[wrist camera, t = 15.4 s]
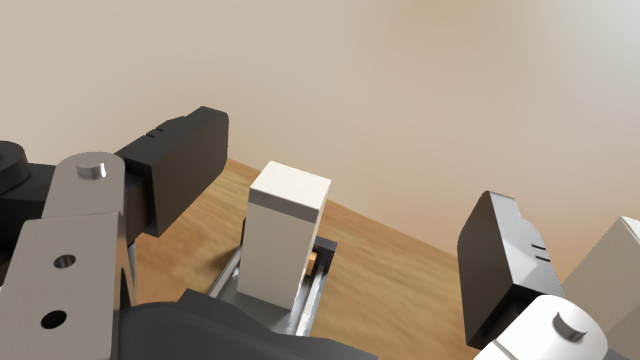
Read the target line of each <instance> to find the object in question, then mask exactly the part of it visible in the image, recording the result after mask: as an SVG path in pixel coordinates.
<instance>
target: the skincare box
mask: <svg viewBox="0 0 640 360" xmlns="http://www.w3.org/2000/svg"><path fill="white" fill-rule="evenodd" d="M561 287H562V289H563V292H564V294H565V297H566V299H567V301H569V302H571V303H573V304H575V305H576V306H578V307H579V308H581V309H582V310H583V311H585V312H586V313H587V314H588V315H589V316H590V317H591V318H592V319H593V320H594V321H595V322H596V323H597V324H598V325H599V327H600V328H601V329H602V331H603V333H604V334H605V337H606V339H607V343H608V348H610V349H612V350H613V351H615V352H617V353H619V354H620V355H622V356H624V357H626V358H627V359H629V360H640V221H637V220H634V219H630V218H627V217H623V216H620V217H619V219H618V220H617V221H616V222H615V223H614V224H613V226H612V227H611V228H610V229H609V230H608V231H607V233H605V235H604V236H603V237H602V238H601V239H600V240H599V242H598V243H597V244H596V245H595V247H593V248H592V250H591V251H590V252H589V253H588V255H586V257H585V258H584V259H583V260H582V261H581V262H580V264H579V265H578V266H577V267H576V268H575V269H574V270H573V272H572V273H571V274H570V275H569V276H568V278H567V279H566V280H565V281H564V282H563V283H562V284H561Z"/></svg>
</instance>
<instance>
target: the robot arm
mask: <svg viewBox="0 0 640 360" xmlns="http://www.w3.org/2000/svg"><path fill="white" fill-rule="evenodd" d="M228 124H229V118H228V115H227V113H225V112H222V111H219V110H215V109H212V108H208V107H205V106H202V107H200V108H198V109H197V110H195V111H194V112H192V113H191V114H189V115H188V116H186V117H184V116H182V117H178V118H175V119H171V120H167V121H166V122H164V123H163V124H161V125H159V126H158V127H156V129H153V130H151V131H150V132H148V133H146V136H145V135H143V136H141V137H140V138H138V139H137V140H135V141H134V142H132V143H130V144H129V145H127V146H125V147H124V148H122V149H120V150H119V151H117V152H116V153H114V154H111V153H106V152H86V153H81V154H77V155H73V156H70V157H68V158H66V159H64V160H63V161H61V162H60V163H59V164H58V165H57V166H54V165H44V164H34V163H28V161H27V158H26V155H25V152H24V149H23V148H22V147H21V146H20V145H18V144H16V143H13V142H9V141H0V287H1V286H2V285H3V287H2V290H1V293H0V360H378V356H376V355H373V354H370V353H367V352H365V351H362V350H359V349H356V348H353V347H351V346H348V345H345V344H342V343H339V342H337V341H334V340H331V339H326V338H316V337H307V336H297V335H288V334H279V333H275V332H273V331H271V330H269V329H268V328H267V327H265V326H264V325H262V324H261V323H259V322H258V321H256V320H255V319H253V318H252V317H250V316H249V315H247V314H246V313H244V312H243V311H242V310H240V309H239V308H237V307H236V306H234V305H233V304H230V303H228V302H225V301H222V300H219V299H216V298H214V297H211V296H208V295H205V294H202V293H200V292H197V291H194V290H191V289H188V288H187V289H186V291H185V292H184V293H183V295H182V296H181V298H180V299H179V300H178V302H152V303H145V304H140V305H137V245H136V238H137V237H138V236H139V235H140V234H141V233H142V232H143V233H146V234H149V235H152V236H155V237H158V238H159V237H160V236H161V235H162V234H163V233H164V232H165V231H166V229H167V228H168V227H169V226H170V225H171V224H172V223H173V222H174V221H175V220H176V219H177V218H178V217H179V216H180V215H181V214H182V213H183V212H184V211H185V210H186V209H187V208H188V207H189V206H190V205H191V204H192V203H193V202H194V201H195V200H196V198H197V197H198V196H199V195H200V194H201V193H202V192H203V191H204V190H205V189H206V188H207V187H208V186H209V185H210V184H211V183H212V182H213V181H214V180H215V179H216V178H217V177H218V176H219V175H220V174H221V172H222V171H223V169H224V166H225V164H226V160H227V147H228V126H229V125H228ZM545 249H546V247H545V245H544V242H543V240H542V237H541V235H540V234H539V232H537V230H536V229H535V228H534V227H533V226H532V224H530V222H529V221H528V220H525V219H522V217H521V214H520V212H519V209H518V206H517V203H516V201H515V199H514V198H511V197H508V196H504V195H501V194H498V193H494V192H490V191H485V192H484V193H483V194H482V195H481V197H480V198H479V200H478V202H477V204H476V206H475V207H474V209H473V211H472V213H471V215H470V216H469V218H468V220H467V222H466V224H465V225H464V227H463V229H462V231H461V233H460V236H459V239H458V245H457V253H458V263H459V274H460V284H461V294H462V304H463V315H464V325H465V335H466V345H467V346H470V347H473V348H476V349H479V350H482V352H481V353H480V354H479V355H478V356H477V357H476V358H475V359H474V360H629V359H627V358H626V357H624V356H622V355H620V354H619V353H617V352H615V351H613V350H612V349H610V348H608V343H607V339H606V337H605V334H604V333H603V331H602V329H601V328H600V327H599V325H598V324H597V323H596V322H595V321H594V320H593V319H592V318H591V317H590V316H589V315H588V314H587V313H586V312H585V311H583V310H582V309H581V308H579V307H578V306H576V305H575V304H573V303H571V302H569V301H567V299H566V297H565V294H564V292H563V289H562V287H561V284H560V282H559V279H558V277H557V275H556V272H555V270H554V267H553V265H552V263H550V257H549V255H548V252H547V251H545Z"/></svg>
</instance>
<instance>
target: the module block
mask: <svg viewBox="0 0 640 360" xmlns="http://www.w3.org/2000/svg"><path fill="white" fill-rule="evenodd" d="M330 184H331V180H329V179H326V178H323V177H320V176H317V175H314V174H310V173H307V172H304V171H301V170H298V169H295V168H291V167H288V166H285V165H282V164H279V163H275V162H272V161H270V162H269V163H268V165H267V166H266V167H265V169H264V170H263V171H262V172H261V174H260V175H259V176H258V178H257V179H256V180H255V181H254V183H253V184H252V185H251V187H250V192H249V200H248V207H247V215H246V223H245V230H244V238H243V246H242V253H241V261H240V269H239V276H238V284H237V291H238V292H240V293H243V294H246V295H249V296H252V297H255V298H258V299H260V300H263V301H266V302H269V303H272V304H275V305H277V306H280V307H283V308H286V309H289V310H292V309H293V307H294V304H295V301H296V298H297V296H298V293H299V290H300V288H301V285H302V282H303V280H304V277H305V273H306V270H307V266H308V263H309V259H310V256H311V252H312V248H313V245H314V241H315V238H316V234H317V230H318V227H319V223H320V220H321V216H322V213H323V209H324V205H325V202H326V198H327V194H328V191H329V187H330Z"/></svg>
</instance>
